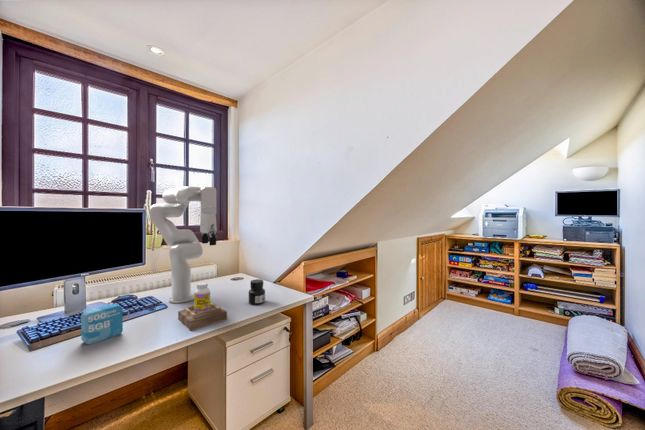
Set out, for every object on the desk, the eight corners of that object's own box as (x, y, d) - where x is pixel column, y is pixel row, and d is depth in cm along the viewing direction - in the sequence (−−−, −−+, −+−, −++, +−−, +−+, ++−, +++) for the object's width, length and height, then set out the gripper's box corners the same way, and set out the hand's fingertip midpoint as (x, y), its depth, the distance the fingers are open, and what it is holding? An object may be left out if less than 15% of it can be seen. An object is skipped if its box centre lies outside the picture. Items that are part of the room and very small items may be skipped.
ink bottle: (259, 306, 140) (258, 284, 140) (244, 304, 143) (244, 282, 143) (268, 300, 149) (268, 279, 149) (254, 298, 152) (254, 278, 152)
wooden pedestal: (178, 319, 124) (178, 307, 123) (212, 310, 135) (212, 299, 135) (190, 330, 112) (190, 317, 112) (226, 319, 124) (226, 307, 123)
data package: (85, 346, 100) (84, 314, 99) (81, 342, 102) (80, 311, 102) (122, 333, 110) (122, 304, 109) (118, 330, 112) (118, 302, 112)
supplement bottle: (194, 314, 119) (194, 286, 119) (194, 309, 125) (193, 282, 125) (210, 312, 122) (210, 284, 122) (209, 307, 128) (209, 280, 128)
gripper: (194, 211, 140) (195, 243, 140) (208, 211, 128) (208, 246, 128) (209, 210, 145) (209, 242, 146) (223, 211, 133) (223, 245, 133)
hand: (208, 244), depth 137 cm, fingers open, 9 cm apart
